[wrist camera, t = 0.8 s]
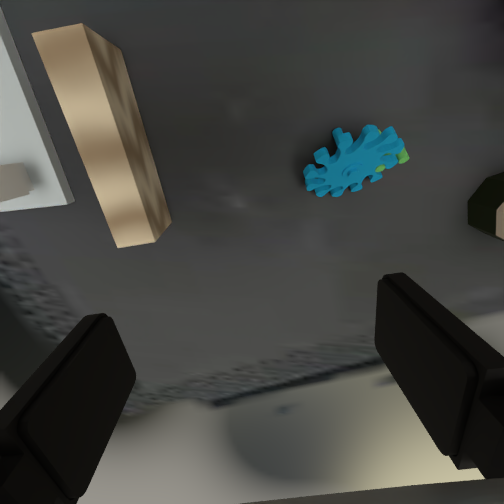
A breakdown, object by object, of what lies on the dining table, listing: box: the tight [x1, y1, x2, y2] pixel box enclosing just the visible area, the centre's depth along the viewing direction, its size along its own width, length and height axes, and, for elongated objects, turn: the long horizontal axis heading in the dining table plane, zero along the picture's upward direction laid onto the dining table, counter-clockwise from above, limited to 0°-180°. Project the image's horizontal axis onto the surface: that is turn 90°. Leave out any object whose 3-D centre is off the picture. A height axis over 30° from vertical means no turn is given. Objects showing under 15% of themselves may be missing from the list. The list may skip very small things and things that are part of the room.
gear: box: [303, 125, 409, 197], centre depth 28 cm, size 11×6×10 cm
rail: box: [32, 23, 172, 248], centre depth 27 cm, size 18×4×7 cm, turn 9°
